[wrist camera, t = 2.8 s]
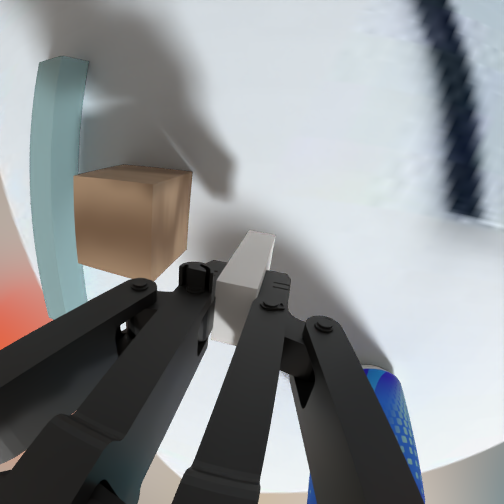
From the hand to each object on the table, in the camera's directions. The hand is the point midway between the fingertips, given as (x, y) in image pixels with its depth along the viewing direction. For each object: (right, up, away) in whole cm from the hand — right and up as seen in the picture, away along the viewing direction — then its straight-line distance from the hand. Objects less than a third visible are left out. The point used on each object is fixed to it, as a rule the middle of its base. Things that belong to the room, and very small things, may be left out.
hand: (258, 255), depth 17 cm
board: (-17, +6, +6) cm, 19 cm away
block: (-8, +4, +5) cm, 10 cm away
